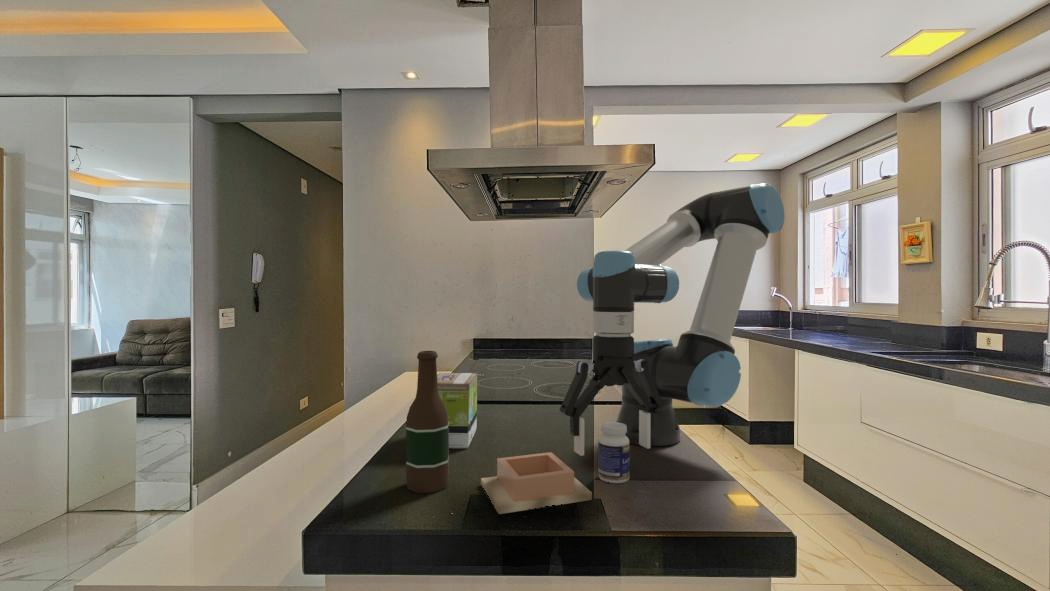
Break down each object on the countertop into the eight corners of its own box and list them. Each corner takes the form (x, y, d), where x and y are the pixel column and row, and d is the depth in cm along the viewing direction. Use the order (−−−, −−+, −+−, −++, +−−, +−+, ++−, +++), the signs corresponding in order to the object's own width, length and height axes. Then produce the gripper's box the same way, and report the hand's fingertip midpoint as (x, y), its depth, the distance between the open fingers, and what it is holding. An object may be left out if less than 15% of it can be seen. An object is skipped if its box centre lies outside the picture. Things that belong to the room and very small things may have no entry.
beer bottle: (411, 497, 80) (411, 355, 80) (401, 481, 87) (400, 350, 87) (456, 489, 84) (455, 352, 84) (442, 474, 91) (441, 348, 90)
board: (563, 473, 90) (563, 467, 90) (591, 499, 79) (591, 492, 79) (481, 484, 85) (481, 478, 85) (498, 514, 74) (498, 506, 74)
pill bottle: (629, 485, 85) (629, 429, 85) (597, 483, 86) (597, 428, 86) (629, 473, 90) (629, 421, 90) (599, 471, 92) (598, 419, 92)
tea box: (470, 449, 105) (469, 382, 105) (424, 449, 105) (424, 382, 105) (477, 429, 120) (477, 371, 120) (438, 429, 120) (437, 371, 120)
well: (551, 470, 89) (551, 452, 89) (574, 492, 79) (574, 471, 79) (497, 477, 85) (497, 458, 85) (514, 501, 76) (514, 479, 76)
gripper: (558, 337, 81) (557, 463, 80) (682, 335, 88) (682, 449, 88) (543, 334, 88) (542, 449, 88) (659, 332, 96) (658, 438, 96)
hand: (612, 449), depth 88 cm, fingers open, 13 cm apart
